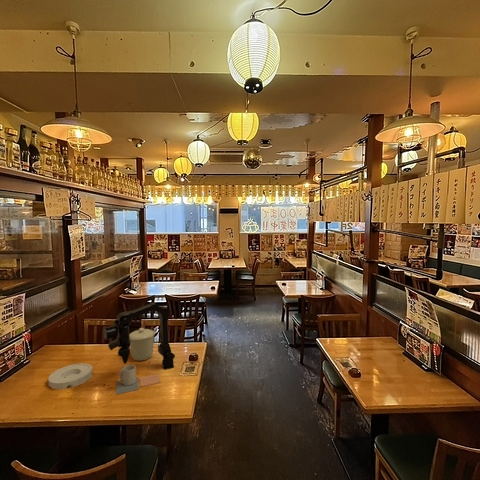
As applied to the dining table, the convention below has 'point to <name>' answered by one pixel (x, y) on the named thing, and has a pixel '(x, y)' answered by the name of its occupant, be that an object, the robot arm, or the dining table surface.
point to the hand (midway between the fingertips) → (125, 360)
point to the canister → (142, 344)
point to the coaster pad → (149, 380)
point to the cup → (128, 375)
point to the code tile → (126, 387)
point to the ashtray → (70, 376)
